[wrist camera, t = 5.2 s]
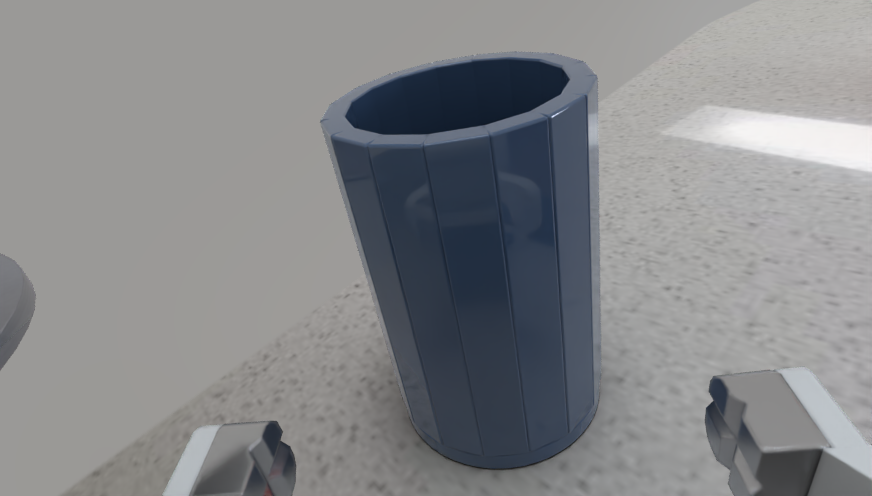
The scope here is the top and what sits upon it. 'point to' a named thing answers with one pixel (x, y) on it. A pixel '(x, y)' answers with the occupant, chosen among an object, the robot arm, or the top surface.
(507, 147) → the tumbler
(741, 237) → the top surface
